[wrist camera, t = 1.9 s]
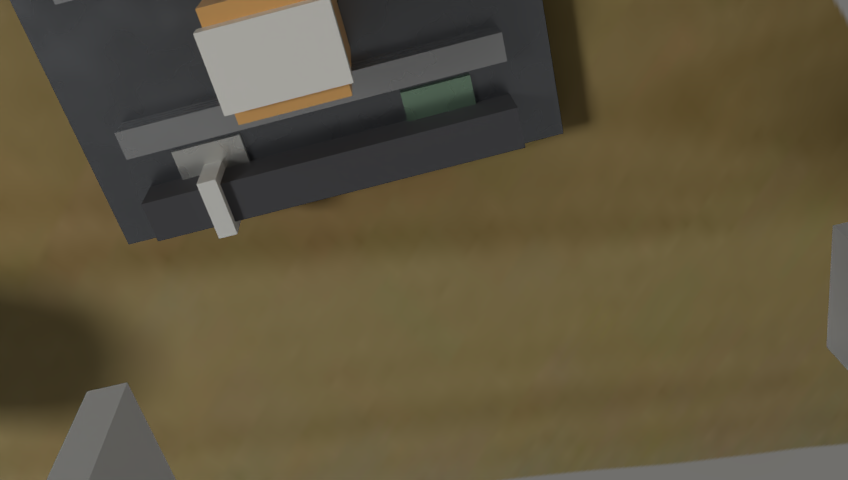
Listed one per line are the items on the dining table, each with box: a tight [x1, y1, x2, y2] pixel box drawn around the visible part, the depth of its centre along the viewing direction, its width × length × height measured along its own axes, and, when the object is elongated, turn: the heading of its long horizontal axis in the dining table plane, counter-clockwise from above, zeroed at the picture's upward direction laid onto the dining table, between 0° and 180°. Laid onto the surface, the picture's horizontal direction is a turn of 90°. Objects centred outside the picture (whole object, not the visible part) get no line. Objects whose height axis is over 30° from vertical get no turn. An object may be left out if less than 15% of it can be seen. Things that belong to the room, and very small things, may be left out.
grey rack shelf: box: [141, 94, 525, 241], centre depth 30 cm, size 16×16×2 cm
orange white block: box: [193, 0, 354, 125], centre depth 28 cm, size 4×4×7 cm
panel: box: [10, 0, 563, 244], centre depth 31 cm, size 16×20×3 cm
